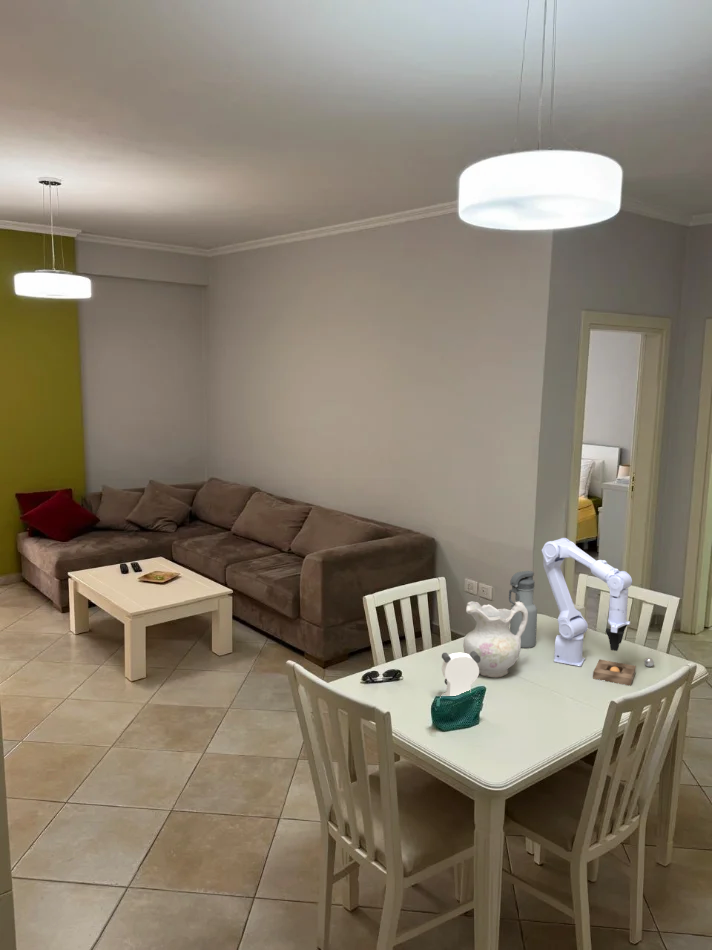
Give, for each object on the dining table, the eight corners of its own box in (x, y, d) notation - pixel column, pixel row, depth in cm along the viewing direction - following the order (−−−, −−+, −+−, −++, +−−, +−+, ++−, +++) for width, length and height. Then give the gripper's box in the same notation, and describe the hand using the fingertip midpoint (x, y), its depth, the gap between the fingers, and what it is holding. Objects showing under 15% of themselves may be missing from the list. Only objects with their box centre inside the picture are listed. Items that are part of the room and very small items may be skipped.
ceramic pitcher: (509, 660, 264) (508, 592, 262) (538, 677, 245) (537, 604, 243) (454, 667, 257) (453, 598, 255) (480, 685, 238) (479, 611, 237)
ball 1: (608, 676, 247) (609, 667, 246) (610, 672, 250) (610, 664, 249) (618, 678, 245) (619, 669, 245) (620, 674, 248) (620, 666, 248)
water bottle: (518, 650, 270) (520, 577, 266) (503, 641, 279) (505, 570, 275) (541, 646, 273) (544, 574, 270) (526, 638, 282) (528, 568, 279)
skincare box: (585, 637, 283) (586, 607, 282) (577, 639, 281) (578, 609, 279) (572, 632, 288) (573, 603, 287) (564, 635, 286) (565, 605, 284)
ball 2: (643, 667, 255) (643, 658, 254) (644, 664, 258) (645, 655, 257) (653, 668, 253) (653, 660, 253) (654, 665, 256) (654, 657, 256)
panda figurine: (472, 690, 236) (473, 646, 234) (483, 706, 225) (485, 659, 223) (436, 692, 234) (437, 648, 232) (446, 708, 223) (447, 662, 221)
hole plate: (593, 678, 245) (593, 671, 245) (599, 666, 256) (599, 659, 255) (630, 685, 239) (631, 678, 239) (635, 672, 250) (635, 665, 250)
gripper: (627, 616, 236) (625, 655, 238) (633, 603, 249) (631, 641, 251) (605, 612, 239) (603, 652, 241) (612, 600, 252) (609, 638, 254)
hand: (615, 646), depth 246 cm, fingers open, 7 cm apart
